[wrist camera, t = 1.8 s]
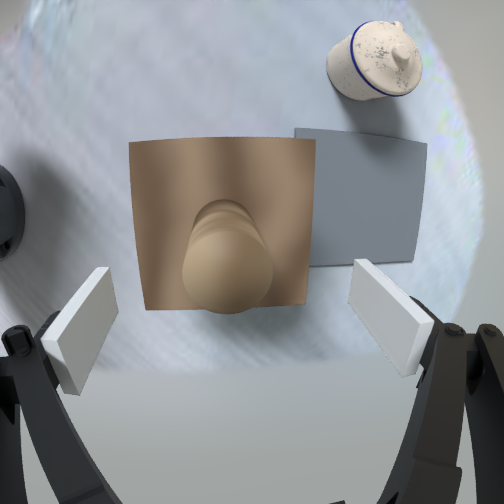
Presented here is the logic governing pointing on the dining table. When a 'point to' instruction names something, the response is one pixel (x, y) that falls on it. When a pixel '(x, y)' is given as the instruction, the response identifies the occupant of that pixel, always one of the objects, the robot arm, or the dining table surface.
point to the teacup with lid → (375, 62)
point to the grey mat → (365, 197)
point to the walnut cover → (223, 221)
